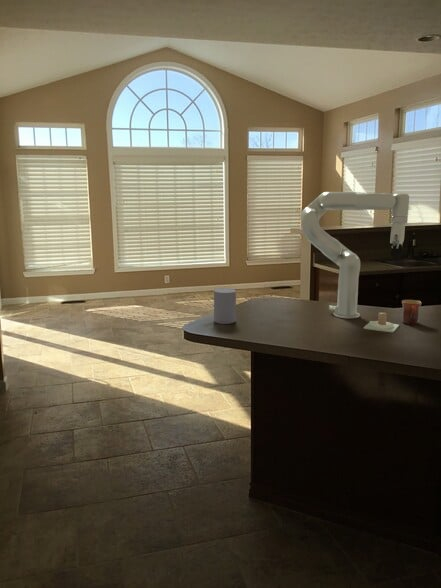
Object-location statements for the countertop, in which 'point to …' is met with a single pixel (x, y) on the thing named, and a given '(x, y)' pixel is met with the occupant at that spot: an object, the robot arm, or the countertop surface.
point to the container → (224, 306)
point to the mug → (410, 311)
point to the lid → (381, 322)
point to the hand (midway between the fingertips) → (396, 255)
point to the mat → (381, 329)
